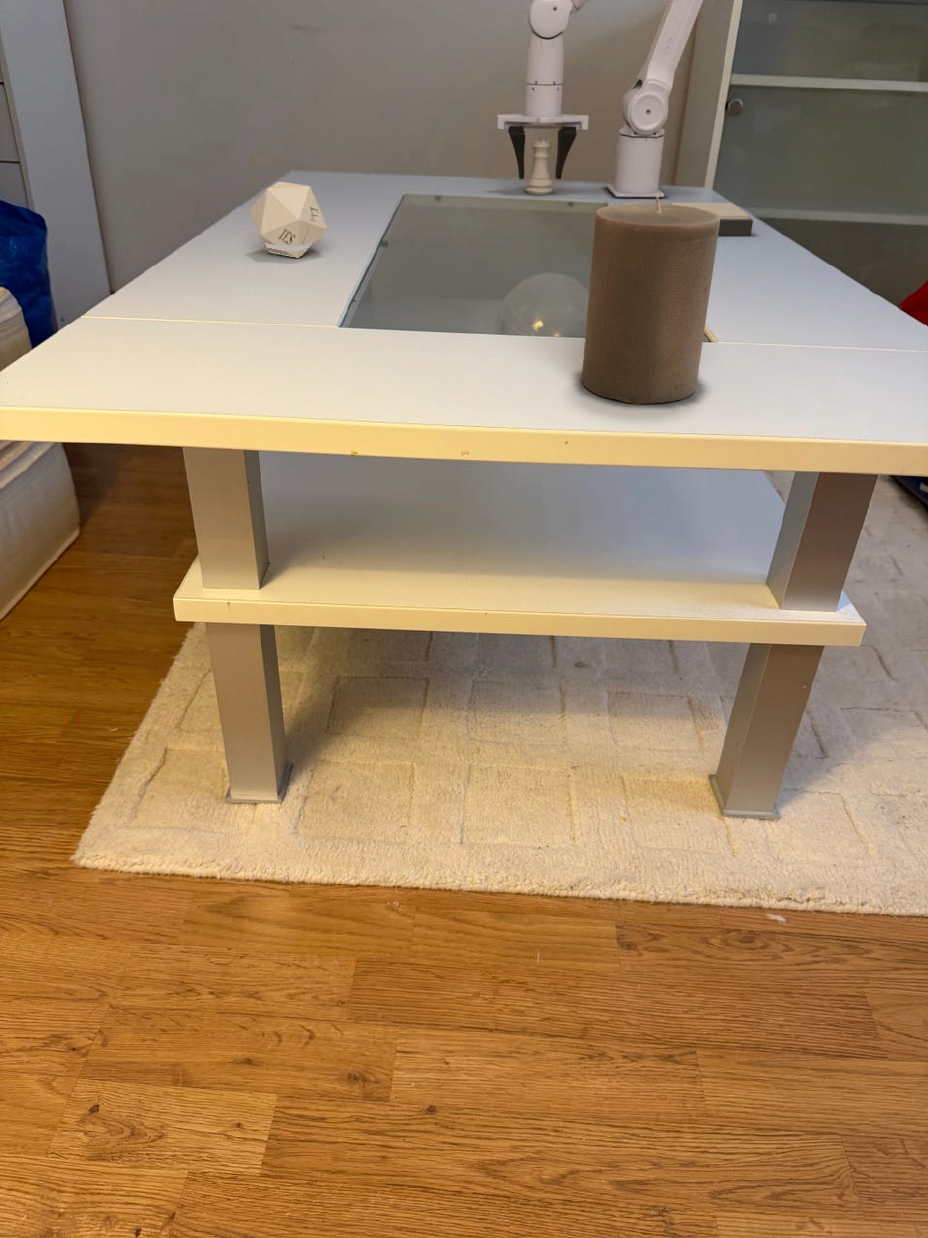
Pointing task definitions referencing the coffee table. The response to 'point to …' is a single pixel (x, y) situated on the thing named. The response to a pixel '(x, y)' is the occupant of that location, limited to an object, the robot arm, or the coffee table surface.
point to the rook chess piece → (540, 169)
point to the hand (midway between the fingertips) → (539, 178)
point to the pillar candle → (648, 300)
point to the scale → (727, 218)
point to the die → (288, 217)
